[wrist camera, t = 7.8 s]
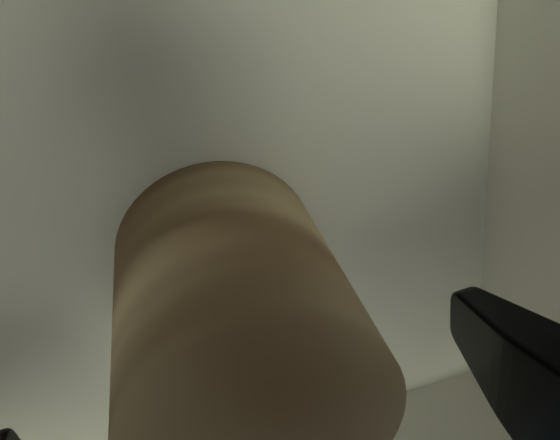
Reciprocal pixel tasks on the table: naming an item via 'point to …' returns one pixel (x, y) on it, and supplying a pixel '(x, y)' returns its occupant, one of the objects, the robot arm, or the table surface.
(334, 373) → the wooden cylinder
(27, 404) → the gray and white box
